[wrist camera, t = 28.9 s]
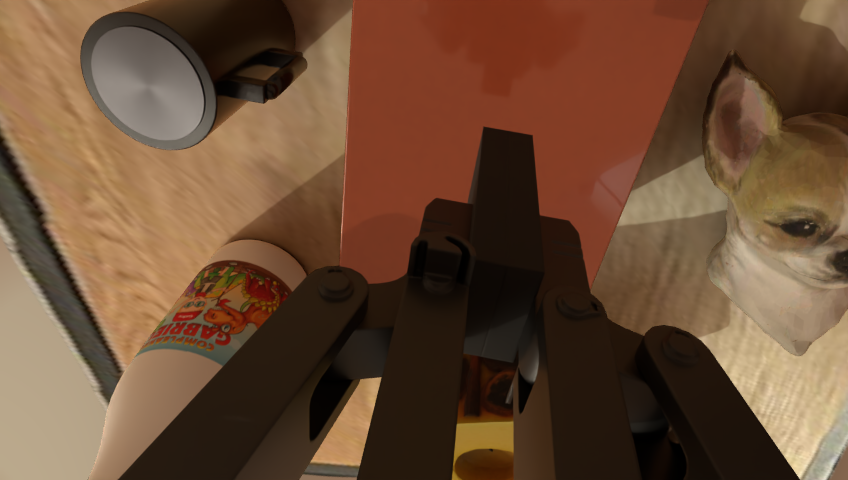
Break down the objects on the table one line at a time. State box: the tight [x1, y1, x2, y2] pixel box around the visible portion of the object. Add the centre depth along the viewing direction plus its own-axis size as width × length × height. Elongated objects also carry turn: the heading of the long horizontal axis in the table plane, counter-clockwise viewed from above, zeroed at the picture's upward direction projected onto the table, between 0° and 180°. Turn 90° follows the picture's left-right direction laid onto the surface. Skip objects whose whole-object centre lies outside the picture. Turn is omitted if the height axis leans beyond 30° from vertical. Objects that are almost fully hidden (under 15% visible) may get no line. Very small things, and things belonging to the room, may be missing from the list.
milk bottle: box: [88, 239, 307, 480], centre depth 31 cm, size 8×8×20 cm
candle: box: [452, 348, 519, 480], centre depth 36 cm, size 10×10×10 cm
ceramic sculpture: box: [702, 50, 848, 356], centre depth 26 cm, size 11×9×15 cm
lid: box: [339, 0, 709, 289], centre depth 21 cm, size 22×13×1 cm, turn 173°
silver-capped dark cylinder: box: [80, 0, 307, 150], centre depth 25 cm, size 8×6×10 cm
